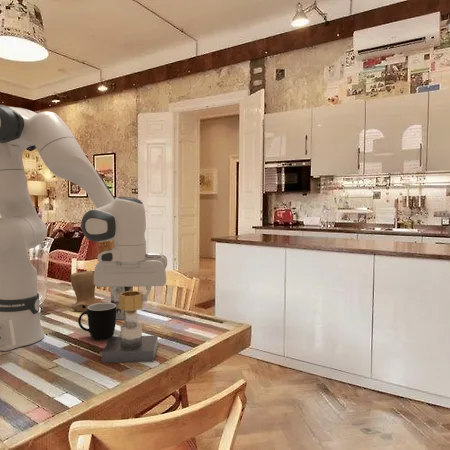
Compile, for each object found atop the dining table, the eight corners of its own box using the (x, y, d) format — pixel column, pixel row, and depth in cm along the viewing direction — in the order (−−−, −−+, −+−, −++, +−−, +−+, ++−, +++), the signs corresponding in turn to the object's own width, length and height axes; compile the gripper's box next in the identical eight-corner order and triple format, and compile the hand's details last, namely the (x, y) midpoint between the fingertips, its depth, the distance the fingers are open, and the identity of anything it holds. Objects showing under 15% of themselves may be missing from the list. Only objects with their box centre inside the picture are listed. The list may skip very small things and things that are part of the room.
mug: (119, 331, 132) (118, 302, 131) (113, 341, 123) (113, 310, 122) (82, 332, 131) (82, 302, 130) (74, 342, 122) (73, 310, 121)
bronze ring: (117, 310, 110) (117, 296, 109) (121, 304, 116) (121, 291, 116) (140, 310, 110) (140, 296, 110) (143, 304, 116) (143, 290, 116)
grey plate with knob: (102, 362, 108) (101, 316, 107) (111, 346, 120) (110, 304, 119) (153, 361, 109) (153, 315, 108) (157, 345, 121) (157, 303, 120)
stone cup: (75, 302, 167) (74, 268, 166) (104, 302, 168) (103, 267, 167) (64, 313, 152) (63, 275, 151) (96, 313, 153) (95, 275, 152)
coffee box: (127, 319, 145) (127, 276, 143) (110, 319, 145) (109, 276, 143) (134, 312, 154) (133, 272, 152) (117, 312, 154) (117, 271, 153)
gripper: (167, 251, 116) (168, 297, 117) (97, 252, 114) (98, 299, 115) (166, 255, 110) (166, 303, 111) (91, 255, 108) (92, 305, 109)
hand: (131, 301), depth 113 cm, fingers closed on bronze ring, 6 cm apart
